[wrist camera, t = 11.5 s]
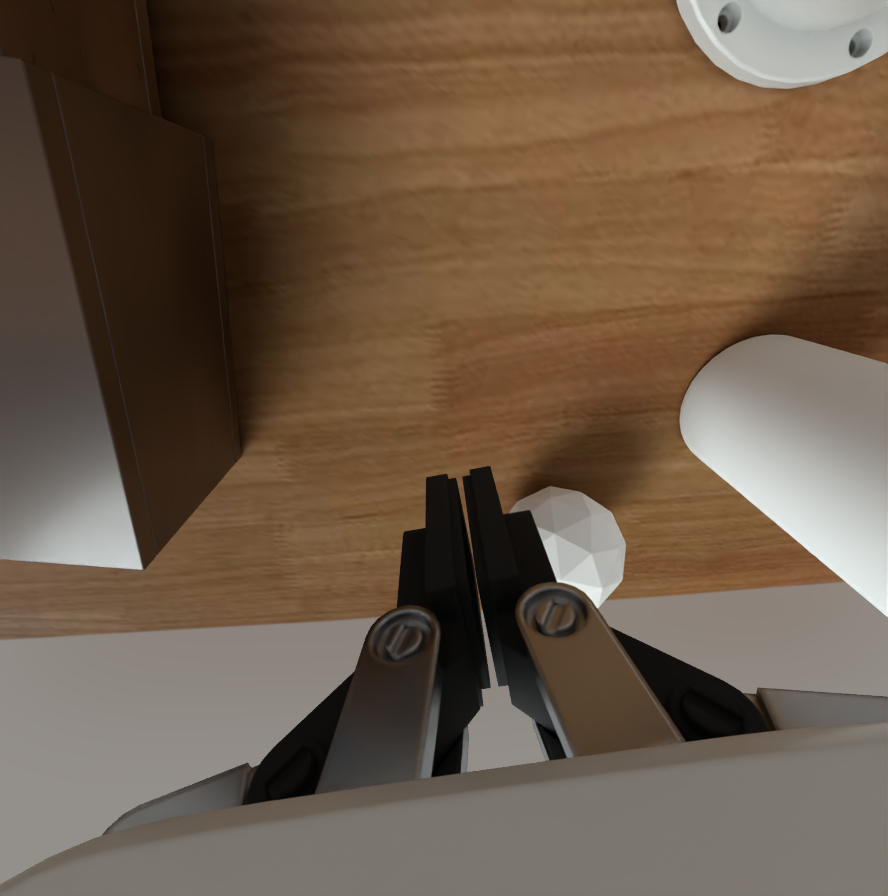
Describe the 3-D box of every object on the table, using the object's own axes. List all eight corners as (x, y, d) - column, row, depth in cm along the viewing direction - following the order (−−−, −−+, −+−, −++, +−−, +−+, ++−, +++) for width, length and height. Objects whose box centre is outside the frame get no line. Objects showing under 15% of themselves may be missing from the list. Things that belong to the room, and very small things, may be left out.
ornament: (579, 567, 30) (529, 661, 25) (509, 488, 30) (445, 564, 25) (668, 540, 25) (628, 651, 20) (583, 444, 25) (521, 529, 20)
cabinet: (-133, 86, 18) (-684, -58, 9) (212, 139, 19) (22, 58, 10) (-5, 432, 25) (-244, 541, 16) (242, 456, 26) (144, 571, 17)
